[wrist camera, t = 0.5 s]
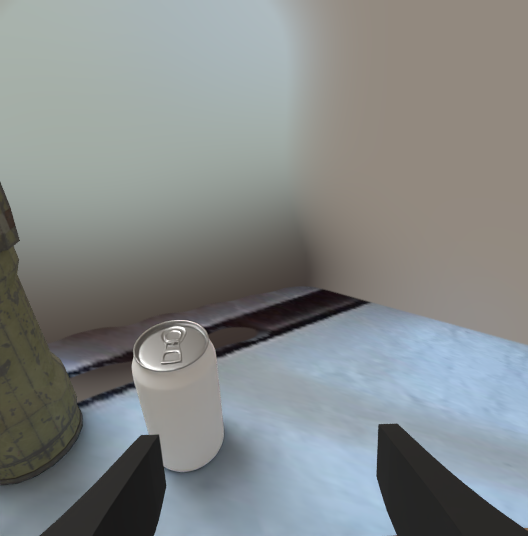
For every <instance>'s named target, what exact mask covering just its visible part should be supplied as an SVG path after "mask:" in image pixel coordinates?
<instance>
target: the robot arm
mask: <svg viewBox="0 0 528 536" xmlns="http://www.w3.org/2000/svg"><path fill="white" fill-rule="evenodd" d="M376 476H377V480H378V483H379V487H380V490H381V493H382V497H383V500H384V503H385V506H386V509H387V512H388V515H389V517H390V519H391V522H392V524H393V527H394V529H395V531H396V534H397V536H528V531H527V530H526V529H524V528H523V527H521V526H520V525H519V524H517V523H516V522H514V521H513V520H512V519H510V518H509V517H507V516H506V515H504V514H503V513H502V512H500V511H499V510H497V509H496V508H495V507H493V506H492V505H491V504H489V503H488V502H487V501H486V500H484V499H483V498H482V497H480V496H479V495H478V494H477V493H475V492H474V491H473V490H472V489H470V488H469V487H468V486H467V485H465V484H464V483H463V482H462V481H461V480H459V479H458V478H457V477H456V476H455V475H453V474H452V473H451V472H450V471H449V470H448V469H446V468H445V467H444V466H443V465H442V464H441V463H440V462H438V461H437V460H436V459H435V458H434V457H433V456H432V455H431V454H430V453H428V452H427V451H426V450H425V449H424V448H423V447H422V446H421V445H420V444H419V443H418V442H417V441H415V440H414V439H413V438H412V437H411V436H410V435H409V434H408V433H407V432H406V431H405V430H404V429H403V428H401V427H400V426H399V425H398V424H379V426H378V450H377V475H376ZM165 489H166V480H165V473H164V466H163V459H162V451H161V444H160V437H159V434H157V435H141V436H140V437H139V438H138V439H137V440H136V441H135V442H134V443H133V444H132V445H131V446H130V447H129V448H128V449H127V450H126V451H125V452H124V453H123V455H122V456H121V457H120V458H119V459H118V460H117V461H116V462H115V463H114V464H113V465H112V466H111V467H110V468H109V470H108V471H107V472H106V473H105V474H104V475H103V476H102V477H101V478H100V479H99V480H98V481H97V482H96V483H95V484H94V485H93V486H92V487H91V488H90V489H89V490H88V491H87V492H86V493H85V494H84V495H83V496H82V497H81V498H80V499H79V500H78V501H77V502H76V503H75V504H74V505H73V506H72V507H71V508H70V509H69V510H67V511H66V512H65V513H64V514H63V515H62V516H61V517H60V518H59V519H58V520H57V521H56V522H55V523H53V524H52V525H51V526H50V527H49V528H48V529H47V530H45V531H44V532H43V533H42V534H41V535H40V536H154V533H155V530H156V527H157V524H158V521H159V517H160V512H161V508H162V504H163V499H164V494H165Z"/></svg>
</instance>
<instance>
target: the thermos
mask: <svg viewBox="0 0 528 536" xmlns="http://www.w3.org/2000/svg"><path fill="white" fill-rule="evenodd" d="M19 241H20V240H19V237H18V233H17V230H16V226H15V223H14V219H13V215H12V212H11V208H10V206H9V203H8V200H7V198H6V195H5V193H4V190H3V188H2V186H1V183H0V485H6V484H14V483H19V482H22V481H24V480H27V479H30V478H32V477H35V476H37V475H39V474H40V473H42V472H43V471H45V470H47V469H48V468H50V467H51V466H53V465H54V464H55V463H56V462H58V461H59V460H60V459H61V458H62V457H63V456H64V455H65V454H66V453H67V452H68V451H69V450H70V448H71V447H72V445H73V444H74V443H75V441H76V440H77V438H78V436H79V433H80V431H81V428H82V413H81V411H80V409H79V407H78V405H77V396H76V394H75V391H74V389H73V386H72V384H71V381H70V379H69V377H68V374H67V372H66V369H65V367H64V365H63V363H62V362H61V360H60V359H59V358H58V357H57V356H55V355H54V354H53V353H52V352H50V350H49V348H48V345H47V343H46V341H45V338H44V336H43V334H42V332H41V329H40V327H39V324H38V322H37V320H36V318H35V315H34V313H33V310H32V308H31V306H30V303H29V301H28V299H27V297H26V294H25V292H24V289H23V287H22V285H21V282H20V280H19V278H18V275H17V270H18V262H19V259H18V256H17V254H16V251H15V249H14V245H15V244H16V243H17V242H19Z"/></svg>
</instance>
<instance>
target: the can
mask: <svg viewBox="0 0 528 536" xmlns="http://www.w3.org/2000/svg"><path fill="white" fill-rule="evenodd" d="M133 355H134V358H133V362H132V374H133V378H134V382H135V386H136V390H137V394H138V397H139V401H140V404H141V408H142V412H143V415H144V419H145V422H146V426H147V429H148V433H149V435H157V434H159V437H160V444H161V451H162V459H163V466H164V467H166V468H167V469H169V470H172V471H176V472H188V471H193V470H196V469H198V468H200V467H202V466H204V465H206V464H207V463H208V462H210V461H211V460H212V459H213V458H214V457H215V456H216V454H217V453H218V451H219V450H220V448H221V445H222V443H223V438H224V427H223V416H222V406H221V396H220V387H219V377H218V368H217V359H216V353H215V349H214V346H213V344H212V343H211V341H210V340H209V337H208V333H207V332H206V330H205V329H204V328H203V327H202V326H201V325H199V324H197V323H195V322H192V321H187V320H173V321H167V322H163V323H160V324H158V325H155V326H153V327H151V328H150V329H148V330H147V331H145V332H144V333H143V334H142V335H141V336H140V337H139V338H138V339H137V341H136V343H135V345H134V348H133Z"/></svg>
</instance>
